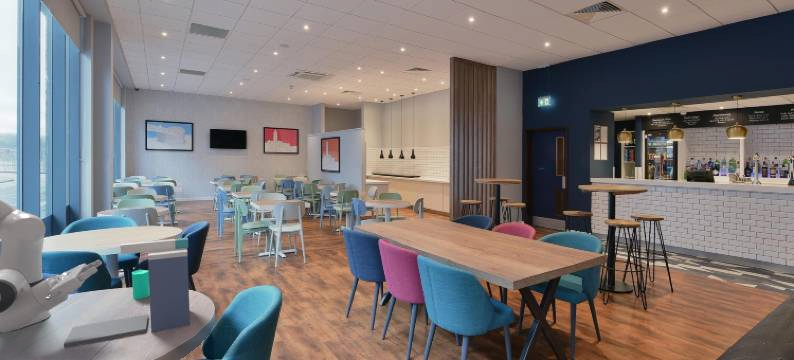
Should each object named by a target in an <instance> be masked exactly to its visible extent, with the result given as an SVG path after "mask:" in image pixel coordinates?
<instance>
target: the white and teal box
mask: <svg viewBox="0 0 794 360" xmlns="http://www.w3.org/2000/svg"><path fill="white" fill-rule="evenodd" d="M119 247H120V255H126V254H127V255H129V254H130V255H131V254H138V253H146V252H147V253H149V251H159V250H169V249H180V248H187V249H188V248H189V238H188V237H182V238H181V237H180V238H171V239H160V240H159V239H158V240H147V241H137V242H128V243H127V242H126V243H121V244H120V245H119Z"/></svg>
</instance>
